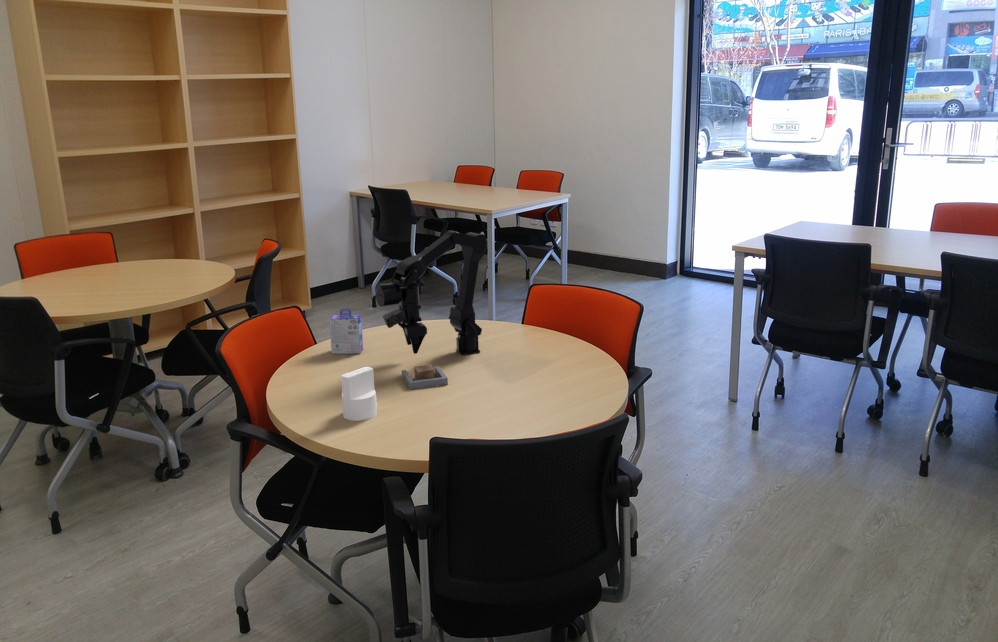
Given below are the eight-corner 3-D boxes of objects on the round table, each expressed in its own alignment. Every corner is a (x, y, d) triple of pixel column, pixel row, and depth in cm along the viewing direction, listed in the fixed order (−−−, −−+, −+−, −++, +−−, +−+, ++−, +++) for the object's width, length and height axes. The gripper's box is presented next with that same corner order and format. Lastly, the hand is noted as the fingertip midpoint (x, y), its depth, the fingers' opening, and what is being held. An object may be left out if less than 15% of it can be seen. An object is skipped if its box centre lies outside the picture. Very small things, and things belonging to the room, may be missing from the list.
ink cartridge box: (364, 348, 256) (361, 307, 252) (361, 354, 251) (358, 312, 247) (335, 349, 256) (331, 307, 252) (331, 354, 251) (328, 312, 247)
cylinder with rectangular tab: (362, 404, 209) (359, 363, 206) (384, 412, 204) (381, 370, 201) (336, 415, 203) (332, 373, 199) (358, 423, 197) (355, 380, 194)
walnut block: (430, 376, 230) (430, 364, 229) (434, 382, 225) (434, 369, 224) (414, 378, 228) (414, 366, 227) (418, 384, 224) (417, 371, 223)
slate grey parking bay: (438, 371, 234) (438, 365, 233) (447, 384, 223) (447, 378, 223) (402, 376, 230) (401, 370, 230) (409, 389, 220) (409, 382, 219)
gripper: (378, 296, 241) (381, 343, 245) (389, 311, 224) (392, 361, 228) (413, 293, 244) (415, 339, 249) (426, 307, 227) (428, 357, 232)
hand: (412, 349), depth 239 cm, fingers open, 9 cm apart
